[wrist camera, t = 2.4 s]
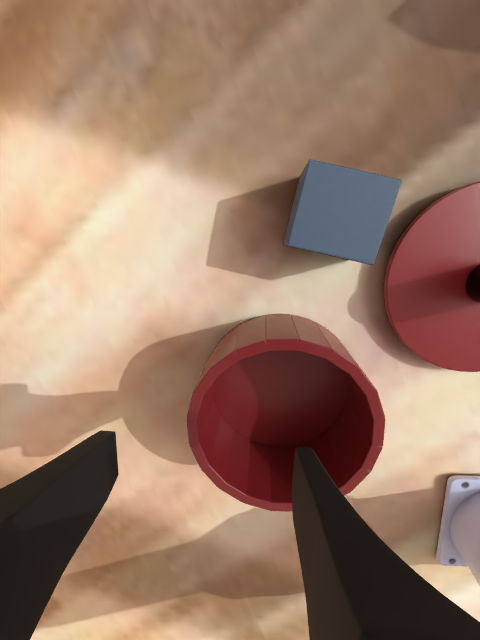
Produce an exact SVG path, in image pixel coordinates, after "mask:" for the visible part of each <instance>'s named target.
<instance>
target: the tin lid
mask: <svg viewBox="0 0 480 640" xmlns="http://www.w3.org/2000/svg"><path fill="white" fill-rule="evenodd" d="M384 301H385V308H386V312H387V315H388V319H389V321H390V323H391V325H392V328H393V330H394V331H395V333H396V334H397V336H398V337H399V339H400V340H401V341H402V342H403V343H404V344H405V345H406V346H407V347H408V348H409V349H410V350H411V351H413V352H414V353H415V354H416V355H418V356H419V357H421V358H422V359H424V360H426V361H427V362H430V363H432V364H434V365H436V366H439V367H443V368H446V369H450V370H456V371H466V372H478V371H480V182H477V183H473V184H469V185H467V186H464V187H462V188H459V189H456V190H454V191H452V192H450V193H448V194H447V195H445V196H443V197H441V198H440V199H438V200H437V201H435V202H434V203H432V204H431V205H430V206H428V207H427V208H426V209H425V210H424V211H423V212H421V213H420V214H419V215H418V216H417V217H416V218H415V219H414V220H413V222H412V223H411V224H410V225H409V226H408V227H407V229H406V230H405V231H404V233H403V234H402V236H401V237H400V239H399V241H398V242H397V244H396V246H395V248H394V250H393V252H392V255H391V257H390V259H389V263H388V266H387V270H386V274H385V281H384Z"/></svg>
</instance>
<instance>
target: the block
mask: <svg viewBox="0 0 480 640" xmlns="http://www.w3.org/2000/svg"><path fill="white" fill-rule="evenodd" d="M401 182H402V180H400V179H396V178H391V177H387V176H382V175H378V174H374V173H369V172H365V171H360V170H356V169H351V168H347V167H342V166H338V165H333V164H329V163H324V162H320V161H315V160H309V161H308V163H307V165H306V166H305V168H304V170H303V172H302V174H301V175H300V177H299V181H298V185H297V189H296V193H295V197H294V201H293V205H292V209H291V213H290V217H289V221H288V225H287V229H286V233H285V237H284V241H283V244H284V245H287V246H291V247H295V248H300V249H304V250H309V251H313V252H317V253H322V254H326V255H330V256H335V257H339V258H344V259H348V260H352V261H357V262H361V263H365V264H370V265H374V263H375V260H376V257H377V254H378V251H379V248H380V245H381V242H382V239H383V236H384V233H385V230H386V227H387V224H388V221H389V218H390V215H391V212H392V209H393V206H394V203H395V200H396V197H397V194H398V191H399V188H400V185H401Z"/></svg>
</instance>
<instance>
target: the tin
mask: <svg viewBox="0 0 480 640" xmlns="http://www.w3.org/2000/svg"><path fill="white" fill-rule="evenodd" d="M187 427H188V437H189V444H190V447H191V449H192V451H193V453H194V456H195V458H196V460H197V462H198V464H199V466H200V468H201V470H202V471H203V472H204V473H205V474H206V475H207V476H208V477H209V478H210V479H211V480H212V482H213V483H214V484H215V485H216V486H217V487H218V488H220V489H221V490H222V491H224V492H226V493H227V494H229V495H231V496H232V497H234V498H236V499H237V500H239V501H241V502H243V503H245V504H249V505H252V506H256V507H259V508H263V509H266V510H270V511H293V510H292V494H291V489H292V479H293V469H294V459H295V449H296V447H302V448H312V449H313V450H314V452H315V453H316V455H317V457H318V458H319V460H320V462H321V463H322V465H323V466H324V468H325V470H326V471H327V473H328V474H329V476H330V477H331V479H332V480H333V481H334V483H335V484H336V486H337V487H338V488H339V490H340V491H341V493H342V494H343V495H346V494H348V493H350V492H351V491H352V490H353V489H354V488H355V487H356V486H357V485H358V484H359V483H360V482H361V481H362V480H363V479H364V478H365V477H366V476H367V475H368V474H369V473H370V472H371V471H372V469H373V466H374V464H375V462H376V460H377V458H378V456H379V454H380V452H381V450H382V446H383V440H384V428H385V416H384V412H383V409H382V405H381V402H380V399H379V395H378V392H377V390H376V388H375V387H374V386H373V384H372V383H371V382H370V380H369V379H368V378H367V376H366V375H365V374H364V372H363V371H362V370H361V368H360V367H359V366H358V364H357V363H356V362H355V360H354V359H353V358H352V356H351V355H350V354H349V352H348V351H347V350H346V348H345V347H344V346H343V344H342V343H341V342H340V341H339V339H338V338H337V337H336V336H335V335H334V334H332V333H331V332H330V331H329V330H327V329H326V328H325V327H323V326H321V325H320V324H318V323H316V322H314V321H312V320H309V319H306V318H303V317H300V316H295V315H289V314H272V315H265V316H260V317H256V318H254V319H251V320H248V321H246V322H244V323H242V324H240V325H238V326H237V327H235V328H234V329H233V330H231V331H230V332H229V333H228V334H227V335H226V336H224V337H223V339H221V341H220V342H219V343H218V345H217V346H216V348H215V349H214V351H213V353H212V354H211V356H210V357H209V359H208V362H207V364H206V366H205V368H204V370H203V372H202V375H201V377H200V379H199V381H198V383H197V385H196V388H195V390H194V392H193V395H192V399H191V403H190V407H189V410H188V414H187Z"/></svg>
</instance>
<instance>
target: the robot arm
mask: <svg viewBox="0 0 480 640" xmlns="http://www.w3.org/2000/svg"><path fill="white" fill-rule="evenodd" d="M117 477H118V462H117V448H116V435H115V432H112V431H99V432H97V433H95V434H94V435H92V436H90V437H89V438H87V439H86V440H84V441H82V442H81V443H79V444H78V445H76V446H74V447H73V448H71V449H70V450H68V451H66V452H65V453H63V454H62V455H60V456H58V457H57V458H55V459H53V460H52V461H50V462H48V463H47V464H45V465H43V466H42V467H40V468H38V469H36V470H35V471H33V472H31V473H29V474H28V475H26V476H24V477H22V478H21V479H19V480H17V481H15V482H13V483H11V484H9V485H7V486H5V487H3V488H1V489H0V640H30V638H31V636H32V634H33V632H34V630H35V628H36V626H37V624H38V622H39V620H40V618H41V616H42V613H43V611H44V609H45V607H46V605H47V603H48V601H49V599H50V597H51V595H52V593H53V591H54V589H55V587H56V585H57V583H58V581H59V580H60V578H61V576H62V574H63V572H64V570H65V568H66V567H67V565H68V563H69V561H70V560H71V558H72V556H73V555H74V553H75V552H76V550H77V548H78V547H79V545H80V543H81V542H82V540H83V539H84V537H85V535H86V534H87V532H88V530H89V529H90V527H91V525H92V524H93V522H94V521H95V519H96V517H97V516H98V514H99V512H100V511H101V509H102V507H103V506H104V504H105V502H106V501H107V499H108V496H109V494H110V492H111V490H112V488H113V486H114V483H115V481H116V479H117ZM463 482H465V483H463ZM462 483H463V484H462ZM291 494H292V510H293V521H294V528H295V534H296V540H297V546H298V552H299V558H300V563H301V569H302V575H303V581H304V587H305V595H306V603H307V614H308V625H309V637H310V640H480V622H479V621H477V620H476V619H475V618H473V617H472V616H471V615H469V614H468V613H467V612H465V611H464V610H463V609H461V608H460V607H459V606H457V605H456V604H455V603H453V602H452V601H451V600H449V599H448V598H447V597H445V596H444V595H443V594H441V593H440V592H439V591H438V590H437V589H435V588H434V587H433V586H432V585H431V584H429V583H428V582H427V581H426V580H424V579H423V578H422V577H421V576H420V575H419V574H417V573H416V572H415V571H414V570H413V569H412V568H411V567H409V566H408V565H407V564H406V563H405V562H404V561H403V560H402V559H401V558H400V557H399V556H398V555H397V554H395V553H394V552H393V551H392V550H391V549H390V548H389V547H388V546H387V545H386V544H385V543H384V542H383V541H382V540H381V539H380V538H379V537H378V536H377V535H376V534H375V533H374V531H373V530H372V529H371V528H370V527H369V526H368V525H367V524H366V523H365V521H364V520H363V519H362V518H361V517H360V516H359V514H358V513H357V512H356V511H355V509H354V508H353V507H352V506H351V504H350V503H349V502H348V501H347V499H346V498H345V497H344V495H343V494H342V493H341V491H340V490H339V488H338V487H337V486H336V484H335V483H334V481H333V480H332V479H331V477H330V476H329V474H328V473H327V471H326V470H325V468H324V466H323V465H322V463H321V462H320V460H319V458H318V457H317V455H316V453H315V452H314V450H313V449H312V448H302V447H296V449H295V459H294V469H293V479H292V489H291ZM436 558H437V560H438V562H439V563H440V564H441V565H449V566H468V568H469V569H470V571H471V572H472V574H473V576H474V577H475V579H476V580H477V582H478V584H479V585H480V476H459V475H455V476H451V477H450V478H449V479H448V481H447V487H446V493H445V500H444V507H443V513H442V520H441V527H440V533H439V540H438V547H437V553H436Z"/></svg>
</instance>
